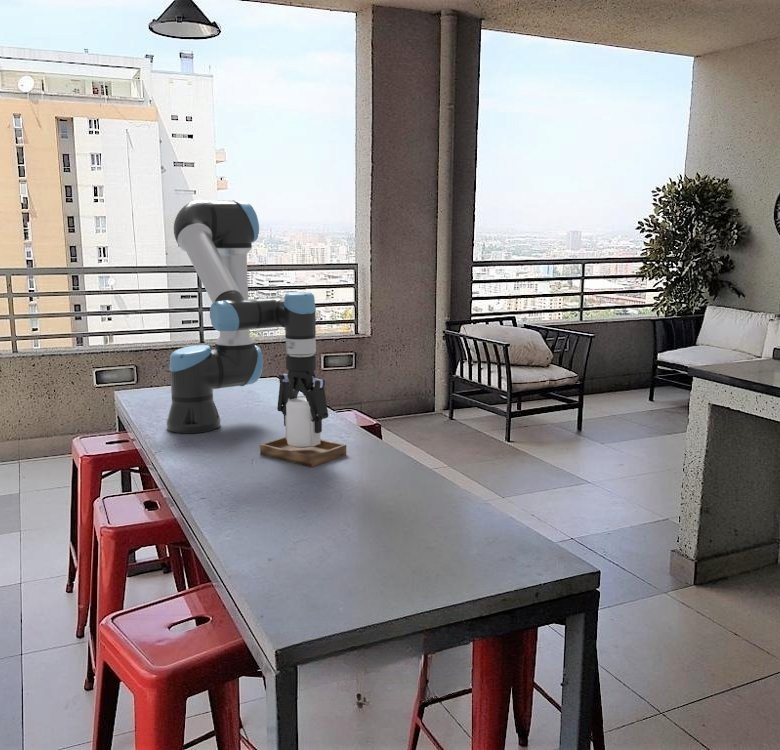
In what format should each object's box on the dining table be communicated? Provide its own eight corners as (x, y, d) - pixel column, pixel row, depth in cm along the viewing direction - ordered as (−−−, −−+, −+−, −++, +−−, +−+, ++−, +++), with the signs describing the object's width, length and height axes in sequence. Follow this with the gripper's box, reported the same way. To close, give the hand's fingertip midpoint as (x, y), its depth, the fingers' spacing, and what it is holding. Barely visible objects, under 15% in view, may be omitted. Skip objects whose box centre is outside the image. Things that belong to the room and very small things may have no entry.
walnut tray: (260, 454, 191) (259, 444, 190) (295, 442, 201) (295, 433, 200) (312, 467, 180) (311, 457, 180) (346, 454, 190) (346, 444, 190)
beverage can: (321, 440, 193) (320, 395, 191) (315, 449, 186) (314, 403, 183) (291, 439, 194) (290, 395, 192) (283, 448, 186) (282, 402, 184)
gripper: (260, 352, 188) (263, 438, 193) (322, 360, 176) (323, 452, 181) (281, 348, 194) (284, 432, 199) (342, 356, 182) (343, 445, 187)
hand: (302, 441), depth 190 cm, fingers closed on beverage can, 8 cm apart
